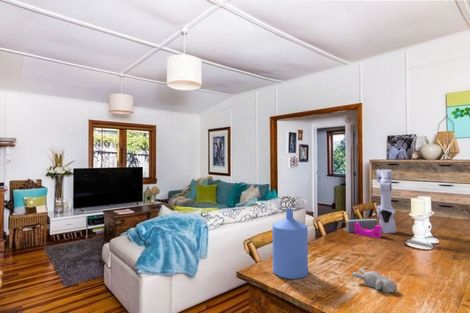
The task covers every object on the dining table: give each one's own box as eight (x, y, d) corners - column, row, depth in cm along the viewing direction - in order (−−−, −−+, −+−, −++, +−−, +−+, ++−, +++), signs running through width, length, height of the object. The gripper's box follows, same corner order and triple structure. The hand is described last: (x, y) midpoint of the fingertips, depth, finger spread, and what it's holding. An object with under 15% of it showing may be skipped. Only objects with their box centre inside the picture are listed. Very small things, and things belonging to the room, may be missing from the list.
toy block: (381, 236, 175) (381, 224, 175) (380, 238, 170) (379, 226, 170) (357, 232, 184) (356, 221, 184) (354, 234, 179) (354, 223, 179)
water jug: (301, 283, 109) (301, 214, 110) (266, 274, 118) (266, 210, 118) (312, 269, 123) (312, 208, 123) (280, 262, 131) (280, 205, 131)
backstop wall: (371, 228, 193) (371, 217, 193) (377, 230, 187) (377, 219, 187) (343, 230, 190) (343, 219, 190) (348, 232, 184) (348, 221, 184)
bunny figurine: (389, 286, 98) (351, 268, 110) (388, 300, 98) (349, 280, 110) (400, 279, 103) (362, 263, 115) (399, 292, 104) (361, 274, 116)
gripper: (372, 199, 178) (373, 220, 178) (388, 203, 164) (388, 225, 164) (382, 199, 180) (382, 219, 180) (398, 203, 165) (399, 225, 165)
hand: (386, 222), depth 172 cm, fingers closed
